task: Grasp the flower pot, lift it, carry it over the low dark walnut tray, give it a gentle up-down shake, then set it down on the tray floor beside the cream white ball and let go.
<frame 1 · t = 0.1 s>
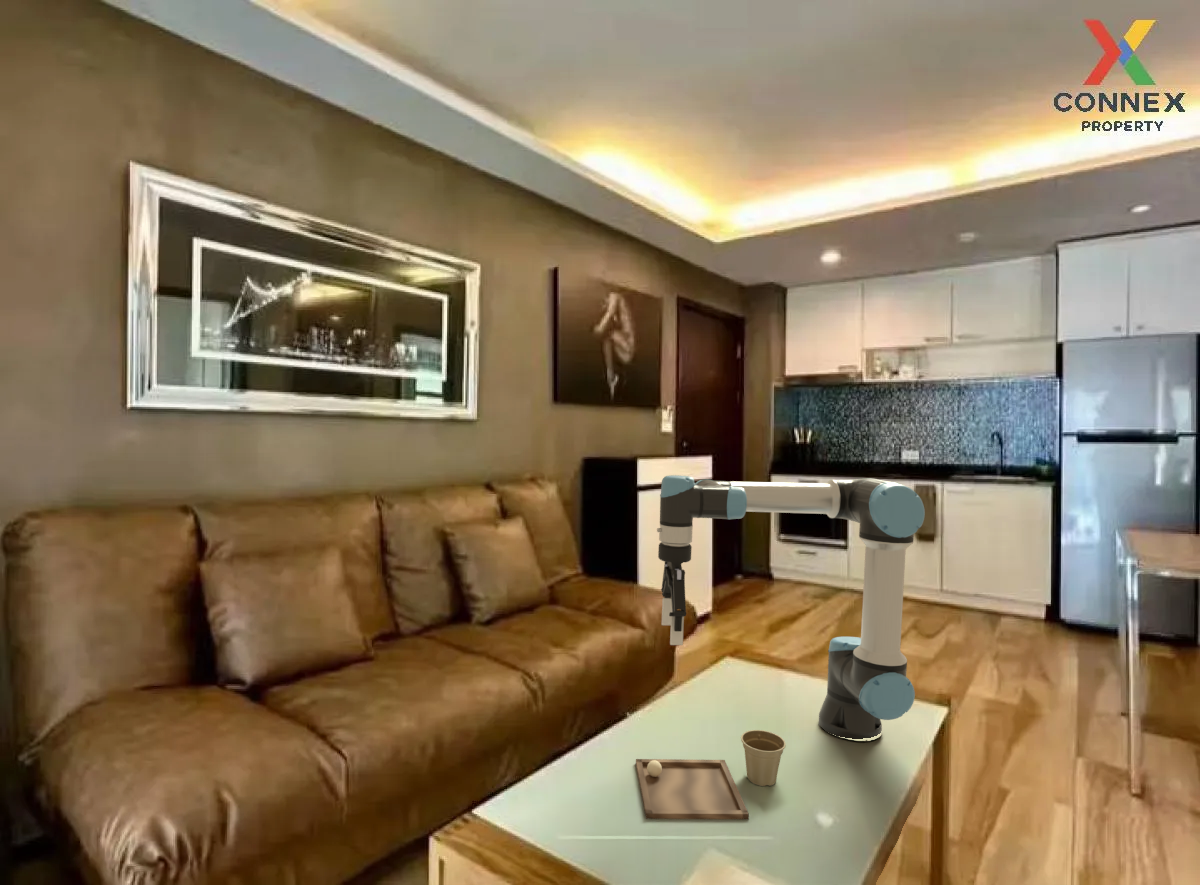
hand: (671, 634, 150), 28 cm above the table, fingers open, 13 cm apart
flower pot: (761, 780, 142), on the table
tray: (688, 791, 136), on the table
cream white ball: (654, 775, 141), resting on tray
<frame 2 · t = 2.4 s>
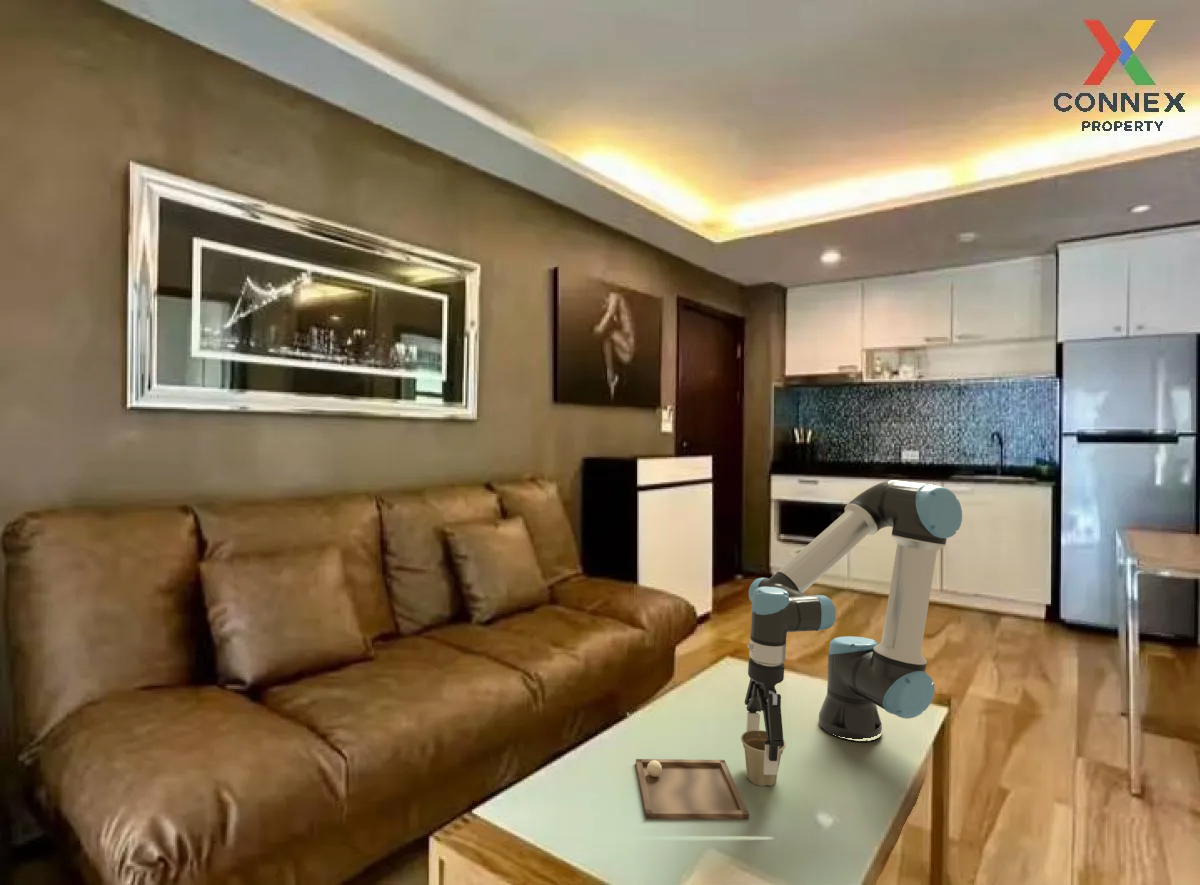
hand: (760, 757, 141), 5 cm above the table, fingers open, 13 cm apart
nothing on the table moved.
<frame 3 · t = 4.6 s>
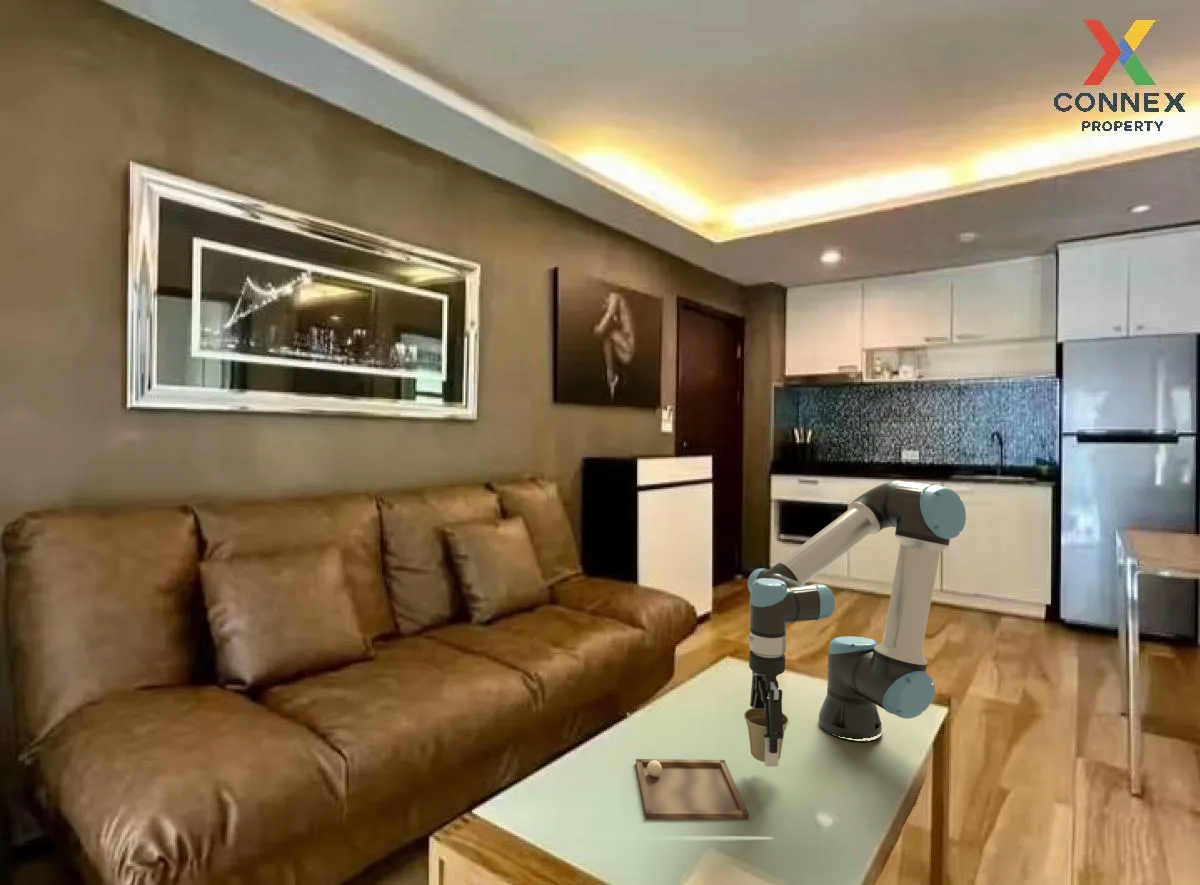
hand: (765, 754, 142), 5 cm above the table, fingers closed on flower pot, 8 cm apart
flower pot: (765, 756, 142), point 5 cm above the table, touching gripper
everything else where it was.
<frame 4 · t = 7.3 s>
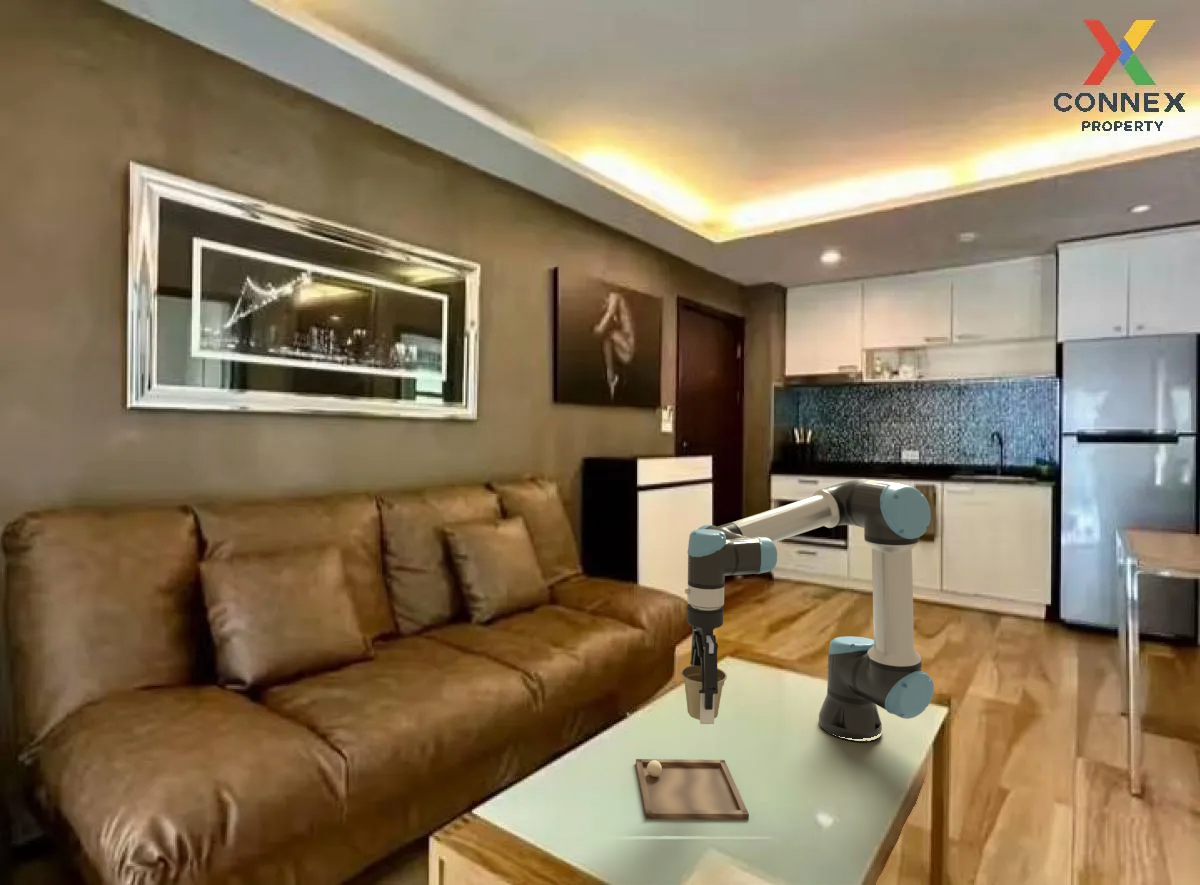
hand: (702, 712, 135), 17 cm above the table, fingers closed on flower pot, 8 cm apart
flower pot: (702, 715, 135), point 16 cm above the table, touching gripper
everything else where it was.
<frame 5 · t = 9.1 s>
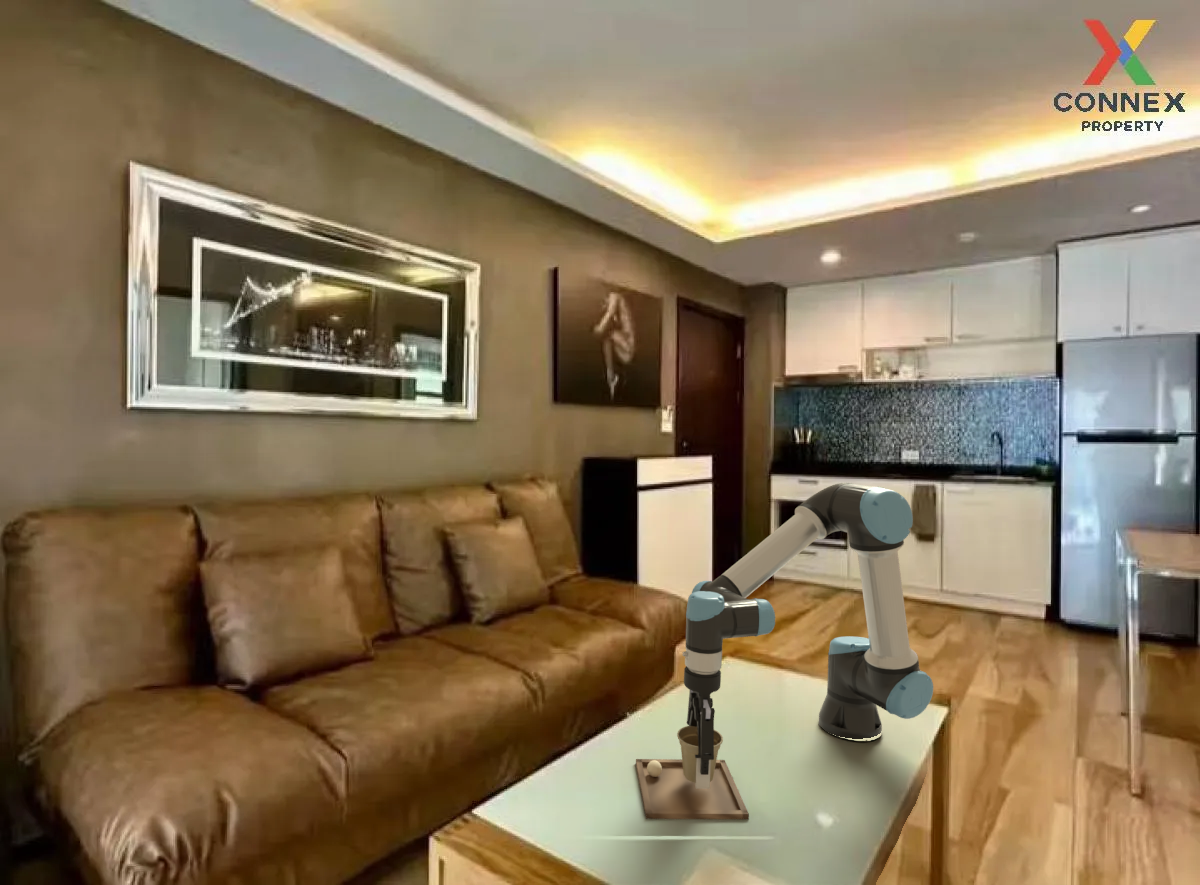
hand: (698, 775, 136), 4 cm above the table, fingers closed on flower pot, 8 cm apart
flower pot: (698, 777, 136), point 3 cm above the table, touching gripper
everything else where it was.
when the fingers open (1 cm above the table, at t = 10.0 s): flower pot stays where it is, resting on tray.
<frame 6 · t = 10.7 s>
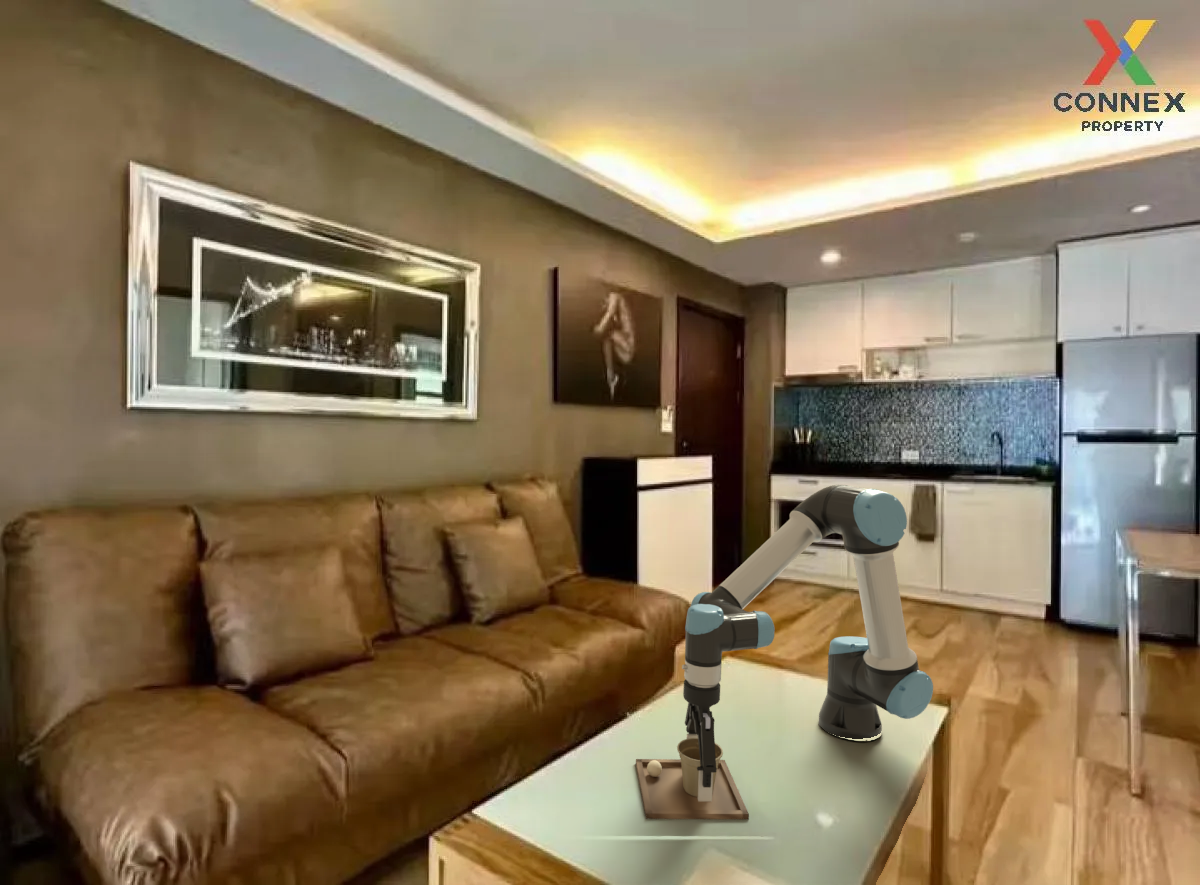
hand: (698, 781, 136), 2 cm above the table, fingers open, 13 cm apart
flower pot: (698, 790, 136), resting on tray
everything else where it was.
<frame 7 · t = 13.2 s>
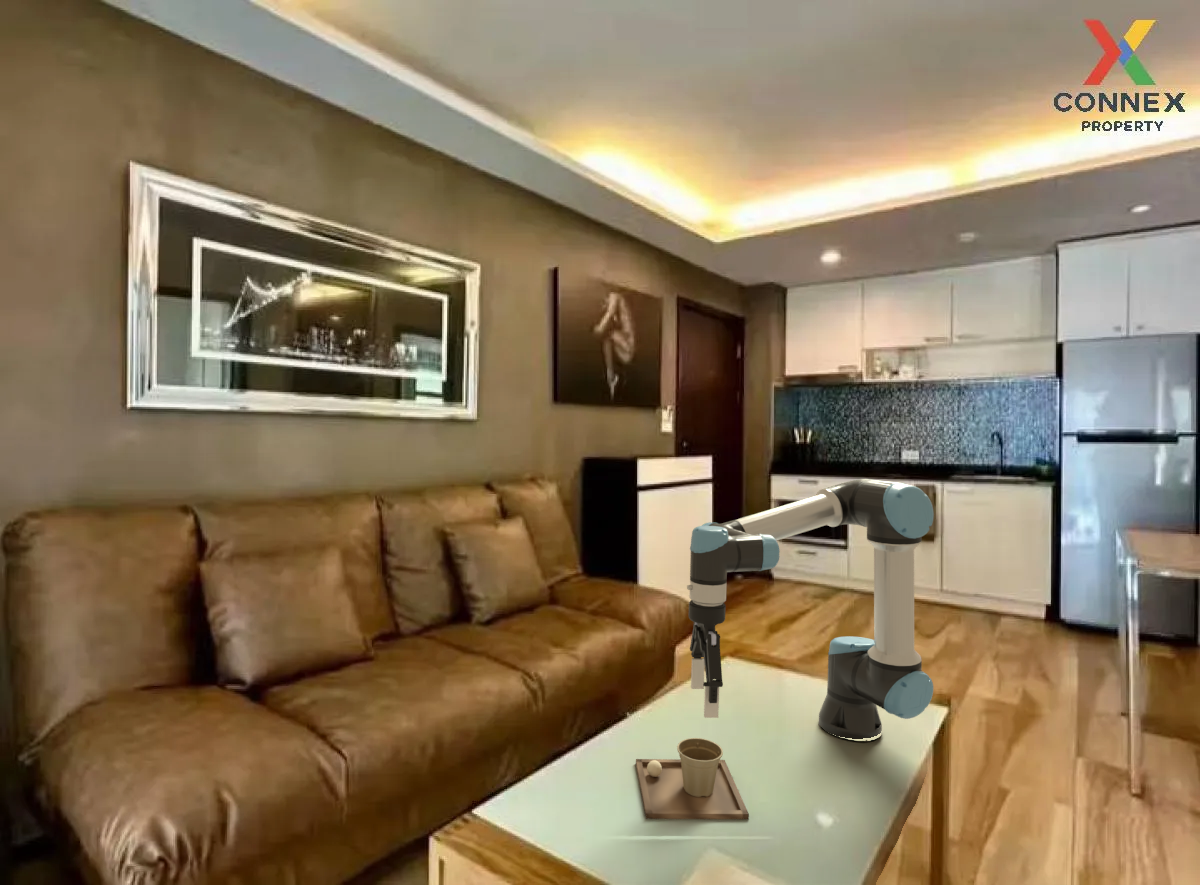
hand: (703, 702, 136), 19 cm above the table, fingers open, 13 cm apart
nothing on the table moved.
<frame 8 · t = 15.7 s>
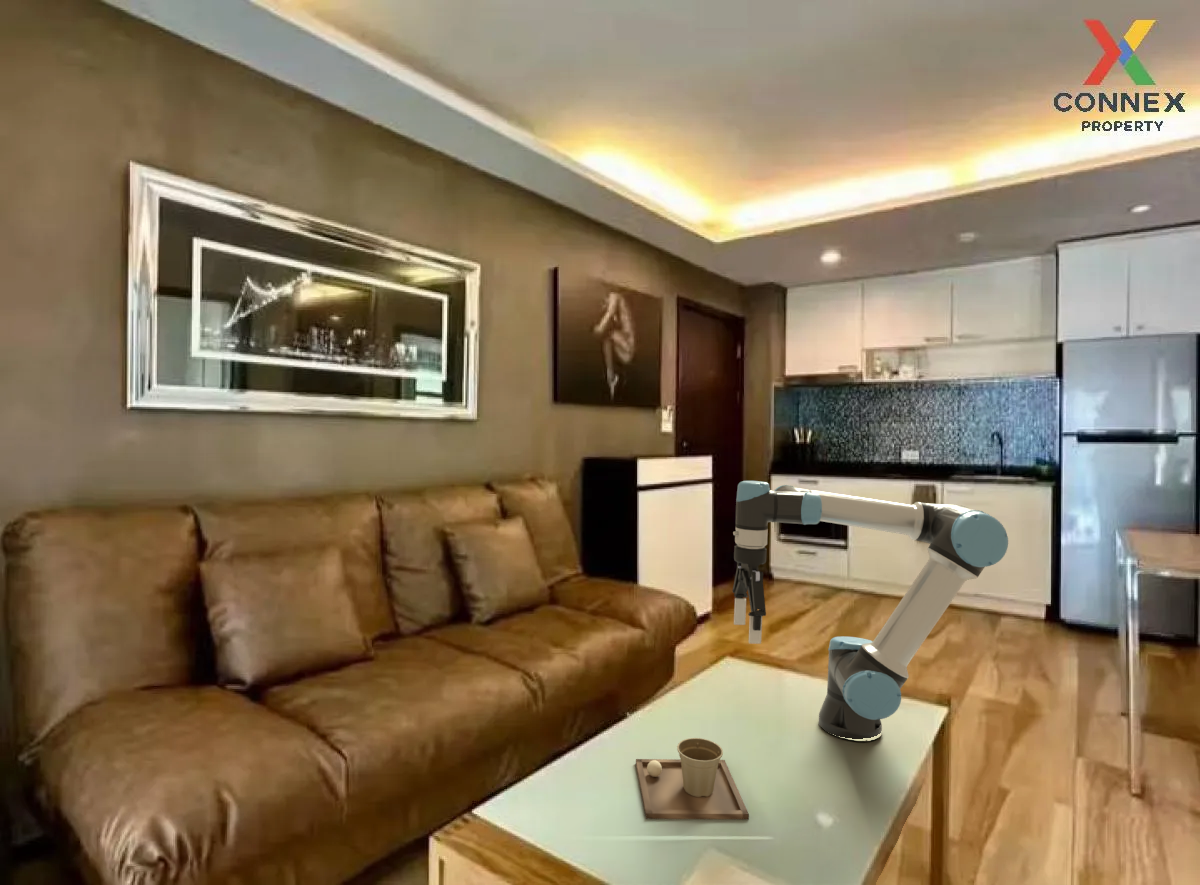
hand: (746, 633, 157), 27 cm above the table, fingers open, 13 cm apart
nothing on the table moved.
at the end: flower pot inside the target area on the tray (2.1 cm from its centre), point 0.3 cm above the tray's base; flower pot tilted 0°; the gripper is holding nothing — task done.
